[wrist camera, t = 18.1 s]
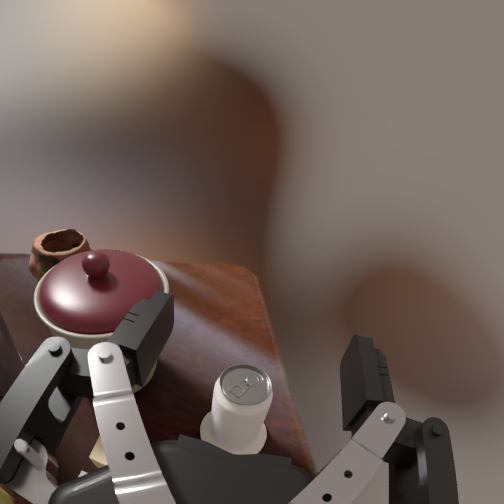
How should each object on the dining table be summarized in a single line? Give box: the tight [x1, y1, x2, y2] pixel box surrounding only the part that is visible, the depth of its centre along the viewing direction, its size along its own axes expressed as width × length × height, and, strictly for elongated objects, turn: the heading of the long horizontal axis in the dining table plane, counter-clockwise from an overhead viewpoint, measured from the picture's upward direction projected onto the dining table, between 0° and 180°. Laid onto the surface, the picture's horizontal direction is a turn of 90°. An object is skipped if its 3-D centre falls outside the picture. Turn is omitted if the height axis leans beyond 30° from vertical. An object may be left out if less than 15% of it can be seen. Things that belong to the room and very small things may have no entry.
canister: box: [34, 249, 169, 393], centre depth 37 cm, size 18×18×21 cm
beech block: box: [89, 436, 108, 469], centre depth 26 cm, size 5×5×6 cm
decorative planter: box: [29, 229, 92, 281], centre depth 49 cm, size 20×12×14 cm, turn 88°
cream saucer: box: [200, 411, 267, 455], centre depth 35 cm, size 9×9×1 cm
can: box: [210, 364, 273, 451], centre depth 32 cm, size 6×6×12 cm
